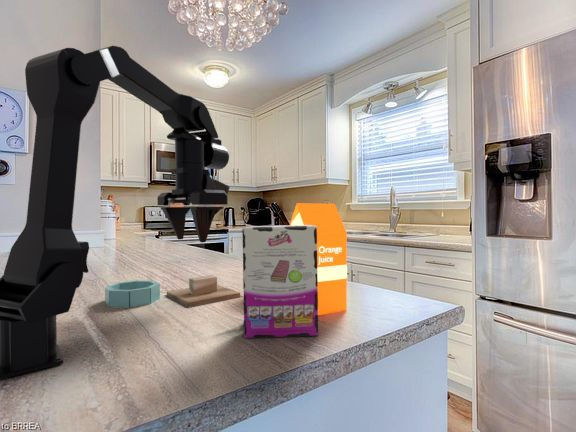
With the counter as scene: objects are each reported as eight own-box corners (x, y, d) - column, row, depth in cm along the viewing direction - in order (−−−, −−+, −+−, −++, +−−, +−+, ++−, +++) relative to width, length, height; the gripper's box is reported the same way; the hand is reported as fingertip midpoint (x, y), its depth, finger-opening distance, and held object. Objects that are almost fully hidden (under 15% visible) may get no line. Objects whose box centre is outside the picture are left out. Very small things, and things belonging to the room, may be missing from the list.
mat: (243, 301, 68) (243, 296, 68) (187, 313, 60) (187, 308, 60) (215, 290, 77) (215, 286, 77) (163, 300, 69) (163, 295, 69)
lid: (240, 296, 68) (240, 278, 68) (189, 306, 60) (189, 286, 60) (214, 287, 76) (214, 270, 76) (167, 295, 69) (166, 277, 69)
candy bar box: (314, 325, 54) (313, 224, 53) (319, 337, 49) (318, 225, 48) (244, 327, 53) (244, 224, 53) (242, 339, 48) (242, 226, 48)
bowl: (165, 306, 64) (164, 285, 64) (113, 316, 58) (113, 293, 58) (149, 296, 71) (149, 278, 71) (101, 304, 65) (101, 284, 65)
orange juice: (286, 306, 64) (286, 203, 64) (324, 300, 68) (324, 204, 68) (307, 317, 57) (306, 202, 57) (347, 310, 61) (347, 203, 61)
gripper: (249, 163, 67) (250, 240, 67) (201, 171, 80) (202, 235, 80) (200, 158, 59) (201, 245, 59) (155, 167, 72) (157, 238, 72)
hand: (191, 240), depth 68 cm, fingers open, 9 cm apart
